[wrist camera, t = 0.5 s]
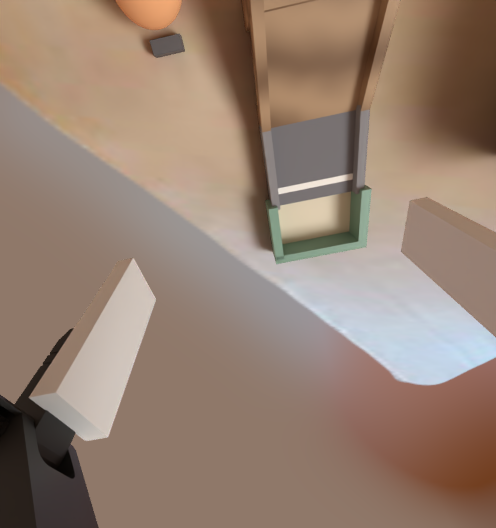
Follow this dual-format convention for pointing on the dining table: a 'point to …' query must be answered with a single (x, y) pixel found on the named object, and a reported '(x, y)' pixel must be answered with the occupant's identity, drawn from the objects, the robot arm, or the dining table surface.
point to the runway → (316, 157)
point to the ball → (151, 12)
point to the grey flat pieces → (167, 45)
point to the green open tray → (319, 225)
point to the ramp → (316, 55)
